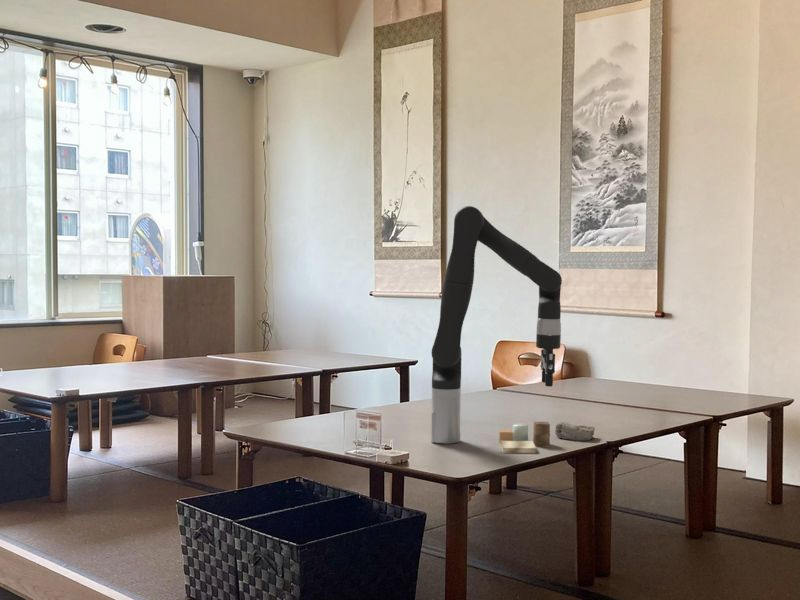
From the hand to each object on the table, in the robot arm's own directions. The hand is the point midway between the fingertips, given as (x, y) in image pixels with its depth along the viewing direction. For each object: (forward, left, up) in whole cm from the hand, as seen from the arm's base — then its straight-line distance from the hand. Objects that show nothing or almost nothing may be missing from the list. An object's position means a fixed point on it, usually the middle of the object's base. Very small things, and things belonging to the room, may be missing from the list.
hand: (547, 384), depth 288 cm
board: (-10, -8, -19) cm, 23 cm away
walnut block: (-2, -1, -19) cm, 19 cm away
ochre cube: (-13, +1, -19) cm, 23 cm away
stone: (+11, +11, -20) cm, 25 cm away
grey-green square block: (-8, +6, -19) cm, 21 cm away
